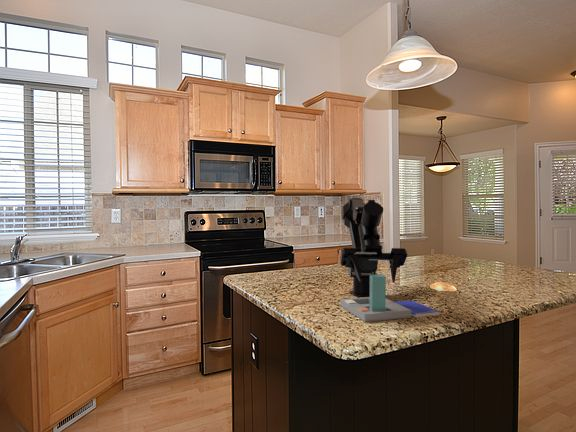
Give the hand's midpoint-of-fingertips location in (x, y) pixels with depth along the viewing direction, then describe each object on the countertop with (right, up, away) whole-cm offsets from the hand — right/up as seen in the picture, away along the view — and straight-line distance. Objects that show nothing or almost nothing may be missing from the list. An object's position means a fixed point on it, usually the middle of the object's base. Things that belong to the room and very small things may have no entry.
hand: (377, 281), depth 101 cm
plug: (0, -9, 0) cm, 9 cm away
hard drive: (+12, -10, +6) cm, 17 cm away
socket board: (0, -9, +4) cm, 10 cm away
